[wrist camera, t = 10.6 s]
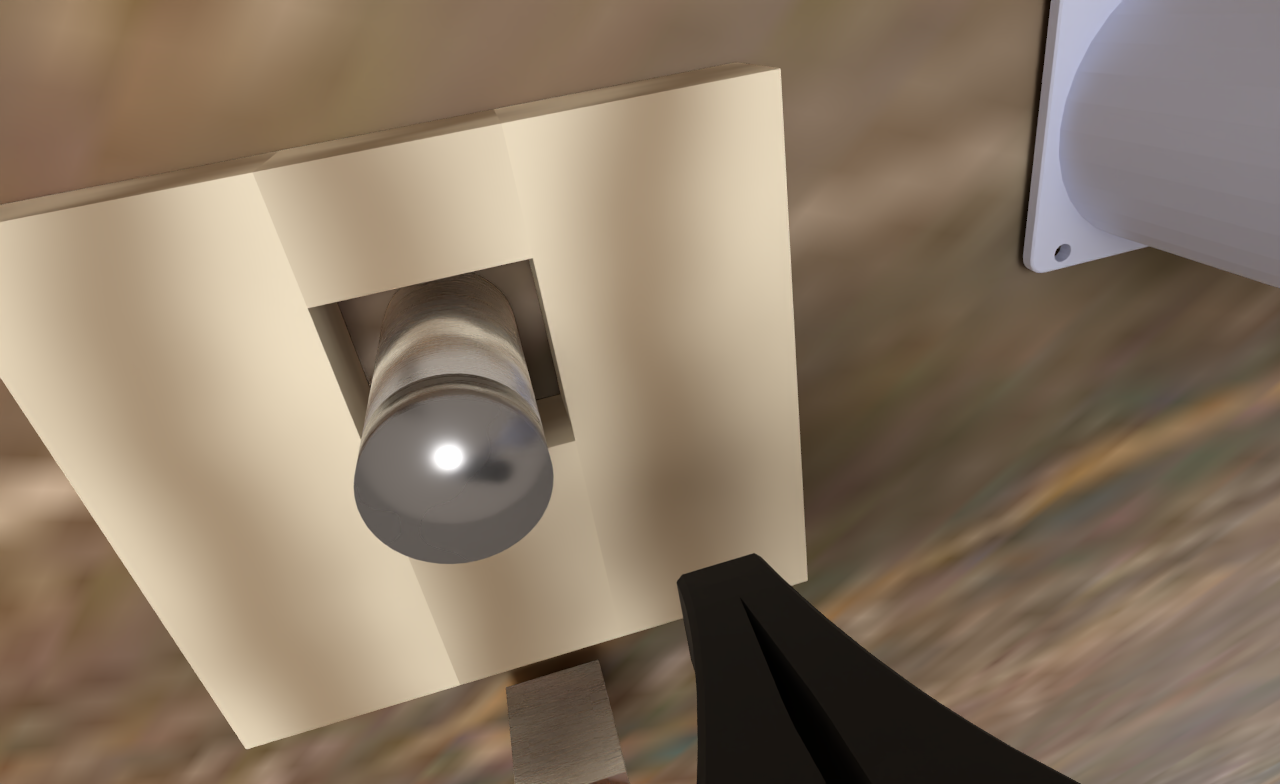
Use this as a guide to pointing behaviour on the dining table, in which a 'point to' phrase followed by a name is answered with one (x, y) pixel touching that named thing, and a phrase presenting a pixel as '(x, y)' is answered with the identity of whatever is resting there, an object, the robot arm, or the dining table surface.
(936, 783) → the robot arm
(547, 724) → the plunger housing
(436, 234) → the block
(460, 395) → the steel pin
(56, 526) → the dining table surface
